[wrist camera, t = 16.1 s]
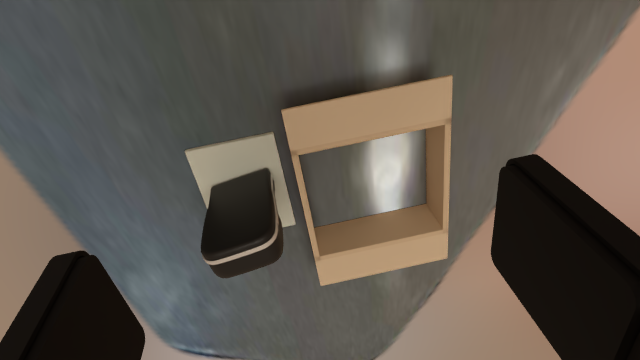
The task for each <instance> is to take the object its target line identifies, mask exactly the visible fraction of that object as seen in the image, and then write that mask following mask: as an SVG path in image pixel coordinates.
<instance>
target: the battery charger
mask: <svg viewBox="0 0 640 360" xmlns="http://www.w3.org/2000/svg"><path fill="white" fill-rule="evenodd" d="M201 253H202V257H203V259H204V260H205V262H206V263H207V264H209V266H210V267H211V269H212V270H213V272H214V273H215V274H216V275H217V276H219V277H221V278H230V277H233V276H237V275H240V274H243V273H246V272H250V271H253V270H255V269H258V268H261V267H264V266H267V265H270V264H272V263H274V262H276V261H277V260H278V259H279V258H280V257H281V255H282V253H283V229H282V222H281V219H280V217H279V215H278V211H277V205H276V200H275V184H274V180H273V176H272V174H271V172H270V171H269V169H263V170H260V171H256V172H253V173H250V174H247V175H244V176H241V177H238V178H235V179H233V180H230V181H227V182H224V183H221V184H218V185H216V186H213V187H212V188H211V192H210V199H209V205H208V209H207V213H206V218H205V222H204V227H203V233H202V241H201Z"/></svg>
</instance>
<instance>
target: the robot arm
mask: <svg viewBox="0 0 640 360" xmlns="http://www.w3.org/2000/svg"><path fill="white" fill-rule="evenodd" d="M491 257H492V260H493V263H494V265H495V266H496V268H497V269H498V270H499V272H500V273H501V275H502V276H503V278H504V279H505V281H506V282H507V284H508V285H509V286H510V288H511V289H512V291H513V292H514V293H515V295H516V296H517V297H518V299H519V300H520V302H521V303H522V305H523V306H524V307H525V309H526V310H527V312H528V313H529V314H530V315H531V317H532V319H533V320H534V321H535V323H536V324H537V326H538V327H539V328H540V330H541V331H542V333H543V334H544V335H545V337H546V338H547V340H548V341H549V343H550V344H551V345H552V347H553V348H554V349H555V351H556V352H557V354H558V355H559V356H560V358H561V359H562V360H640V236H639V235H637V234H636V233H635V232H634V231H632V230H631V229H630V228H629V227H627V226H626V225H625V224H624V223H622V222H621V221H620V220H619V219H617V218H616V217H615V216H614V215H612V214H611V213H610V212H609V211H607V210H606V209H605V208H604V207H602V206H601V205H600V204H599V203H597V202H596V201H595V200H594V199H593V198H591V197H590V196H589V195H588V194H586V193H585V192H584V191H582V190H581V189H580V188H579V187H578V186H576V185H575V184H574V183H573V182H571V181H570V180H569V179H568V178H566V177H565V176H564V175H563V174H561V173H560V172H559V171H558V170H556V169H555V168H554V167H553V166H551V165H550V164H549V163H548V162H546V161H545V160H544V159H543V158H541V157H540V156H538V155H536V154H532V155H528V156H523V157H518V158H513V159H510V160H508V162H507V163H506V167H503V168H501V170H500V173H499V183H498V192H497V201H496V210H495V220H494V228H493V237H492V246H491ZM144 344H145V333H144V330H143V328H142V326H141V325H140V323H139V321H138V320H137V318H136V317H135V315H134V314H133V312H132V311H131V309H130V307H129V306H128V304H127V303H126V301H125V300H124V298H123V297H122V295H121V294H120V292H119V290H118V289H117V287H116V286H115V284H114V283H113V281H112V280H111V278H110V276H109V275H108V273H107V272H106V270H105V269H104V267H103V266H102V264H101V262H100V261H99V259H98V258H97V257H96V256H94V255H89V254H88V253H87V252H85V251H76V252H71V253H67V254H62V255H57V256H55V257H53V258H52V259H51V260H50V261H49V263H48V265H47V266H46V268H45V269H44V271H43V273H42V275H41V276H40V278H39V280H38V281H37V283H36V284H35V286H34V288H33V289H32V291H31V293H30V294H29V296H28V297H27V299H26V301H25V303H24V304H23V306H22V307H21V309H20V311H19V312H18V314H17V316H16V317H15V319H14V321H13V322H12V324H11V326H10V327H9V329H8V330H7V332H6V334H5V336H4V337H3V339H2V341H1V342H0V360H141V356H142V352H143V349H144Z"/></svg>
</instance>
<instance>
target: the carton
mask: <svg viewBox="0 0 640 360" xmlns="http://www.w3.org/2000/svg"><path fill="white" fill-rule="evenodd" d="M452 77H453V76H452V75H447V76H442V77H437V78H432V79H428V80H423V81H418V82H413V83H408V84H403V85H398V86H393V87H388V88H384V89H379V90H374V91H369V92H364V93H359V94H354V95H349V96H344V97H339V98H335V99H330V100H325V101H320V102H315V103H310V104H305V105H300V106H295V107H290V108H286V109H281V112H282V116H283V121H284V125H285V130H286V134H287V138H288V143H289V147H290V152H291V156H292V161H293V165H294V169H295V174H296V178H297V183H298V187H299V192H300V196H301V200H302V205H303V209H304V214H305V218H306V223H307V227H308V231H309V236H310V240H311V245H312V249H313V254H314V258H315V262H316V267H317V271H318V276H319V280H320V284H321V286H323V285H328V284H332V283H337V282H341V281H346V280H350V279H355V278H360V277H364V276H369V275H373V274H378V273H382V272H387V271H391V270H396V269H400V268H405V267H409V266H414V265H418V264H423V263H428V262H432V261H437V260H441V259H446V258H447V252H448V217H449V182H450V147H451V112H452ZM422 129H426V200H427V204H422V205H418V206H413V207H408V208H404V209H399V210H395V211H390V212H385V213H381V214H376V215H371V216H367V217H362V218H357V219H353V220H348V221H343V222H339V223H334V224H330V225H325V226H320V227H316V228H314V226H313V221H312V217H311V212H310V207H309V203H308V198H307V193H306V189H305V184H304V179H303V175H302V170H301V165H300V161H299V156H298V155H302V154H306V153H311V152H316V151H321V150H326V149H330V148H335V147H340V146H345V145H350V144H354V143H359V142H364V141H369V140H374V139H378V138H383V137H388V136H393V135H398V134H402V133H407V132H412V131H417V130H422Z"/></svg>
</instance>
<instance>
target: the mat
mask: <svg viewBox="0 0 640 360" xmlns="http://www.w3.org/2000/svg"><path fill="white" fill-rule="evenodd" d="M185 154H186V156H187V159H188V161H189V164H190V166H191V169H192V171H193V174H194V176H195V179H196V181H197V184H198V187H199V189H200V192H201V194H202V197H203V199H204V202H205V204H206V207H207V209H208V205H209V199H210V192H211V188H212V187H213V186H216V185H218V184H221V183H224V182H227V181H230V180H233V179H235V178H238V177H241V176H244V175H247V174H250V173H253V172H256V171H260V170H263V169H269V171H270V172H271V174H272V176H273V180H274V184H275V200H276V205H277V211H278V215H279V217H280V219H281V222H282V227H286V226H291V225H295V224H296V223H295V219H294V215H293V210H292V206H291V202H290V198H289V194H288V190H287V186H286V182H285V178H284V174H283V170H282V166H281V162H280V158H279V153H278V149H277V145H276V141H275V137H274V133H273V132H269V133H264V134H259V135H254V136H249V137H244V138H239V139H235V140H230V141H225V142H220V143H215V144H210V145H205V146H201V147H196V148H191V149H186V150H185Z"/></svg>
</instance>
